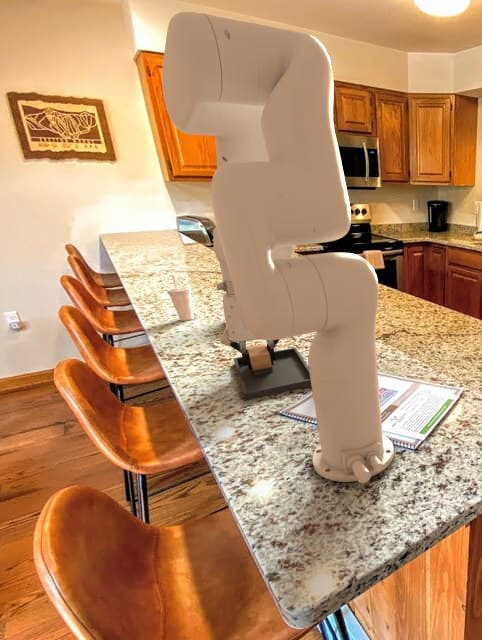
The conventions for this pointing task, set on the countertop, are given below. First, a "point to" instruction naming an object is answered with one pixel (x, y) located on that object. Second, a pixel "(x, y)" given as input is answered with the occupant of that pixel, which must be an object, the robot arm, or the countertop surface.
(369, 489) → the countertop surface
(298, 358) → the tray
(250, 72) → the robot arm
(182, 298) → the smoothie
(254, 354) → the wooden block
